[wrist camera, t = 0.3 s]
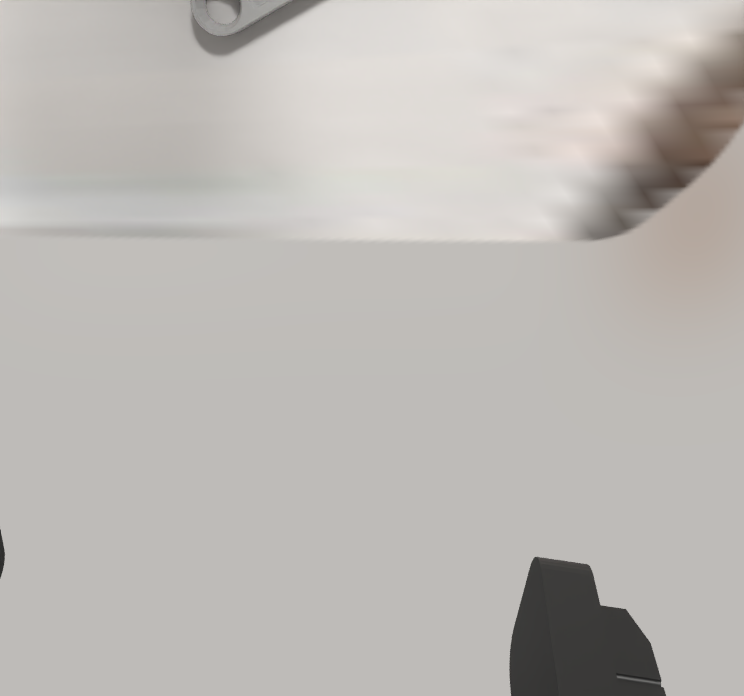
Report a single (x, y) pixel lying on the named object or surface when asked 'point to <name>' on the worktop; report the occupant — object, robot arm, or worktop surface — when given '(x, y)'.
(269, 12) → the adjustable wrench
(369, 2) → the worktop surface
